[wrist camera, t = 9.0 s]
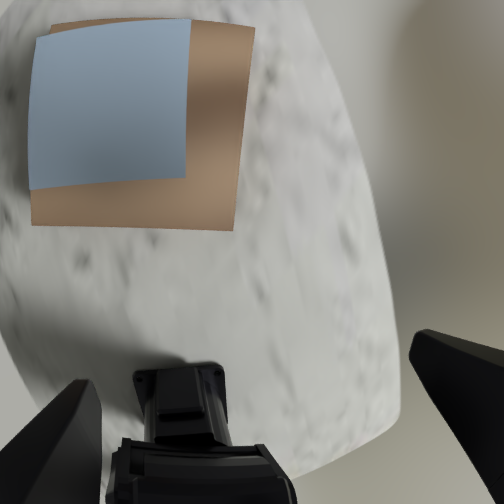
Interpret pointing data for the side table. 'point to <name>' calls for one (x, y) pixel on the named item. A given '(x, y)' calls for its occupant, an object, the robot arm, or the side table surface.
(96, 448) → the robot arm
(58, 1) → the side table surface
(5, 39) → the side table surface
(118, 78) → the blue cube
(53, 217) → the walnut base
